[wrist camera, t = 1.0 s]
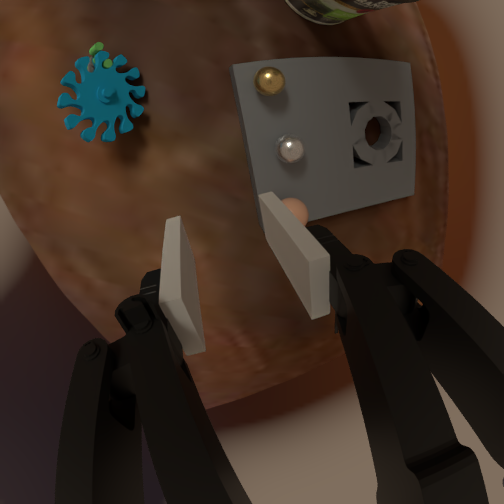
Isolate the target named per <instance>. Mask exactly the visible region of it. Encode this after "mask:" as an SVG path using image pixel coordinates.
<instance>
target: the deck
mask: <svg viewBox="0 0 504 504" xmlns="http://www.w3.org/2000/svg"><path fill="white" fill-rule="evenodd" d="M263 67H275V68H277V69H279V70H280V71H281V72H282V73H283V74H284V76H285V80H286V83H285V87H284V89H283V90H282V91H281V92H280V93H279V94H277V95H274V96H265V95H262V94H260V93H259V92H258V91H257V90H256V89H255V87H254V84H253V78H254V75H255V73H256V72H257V71H258V70H259V69H261V68H263ZM229 71H230V76H231V81H232V86H233V91H234V96H235V101H236V106H237V111H238V116H239V121H240V126H241V131H242V136H243V141H244V146H245V151H246V156H247V162H248V167H249V172H250V177H251V183H252V188H253V193H254V198H255V204H256V209H257V214H258V220H259V225H260V227H261V228H262V230H263V232H264V233H265V230H264V225H263V219H262V213H261V208H260V202H259V197H258V195H259V194H263V193H267V192H273V193H274V194H275V195H276V196H277V197H278V198H279V199H280V200H283V199H285V198H297V199H299V200H301V201H302V202H303V203H304V204H305V205H306V207H307V209H308V213H309V218H308V222H309V221H312V220H316V219H320V218H324V217H328V216H332V215H336V214H339V213H343V212H347V211H351V210H355V209H359V208H363V207H367V206H371V205H375V204H379V203H383V202H387V201H391V200H395V199H399V198H403V197H407V196H411V195H414V188H415V164H416V131H415V108H414V94H413V84H412V75H411V67H410V63H407V62H400V61H392V60H382V59H371V58H354V57H303V58H286V59H274V60H264V61H256V62H248V63H241V64H235V65H232V66H230V67H229ZM384 101H389V105H388V104H386V103H385V102H384ZM349 102H356V103H354V104H353V105H352V106H350V107H349ZM373 117H375V118H377V120H378V122H379V124H380V131H381V134H380V136H379V139H378V141H377V142H376V143H375V144H373V145H372V146H369V145H368V143H367V141H366V139H365V128H366V125H367V123H368V121H369V120H370V119H372V118H373ZM285 134H294V135H297V136H298V137H300V138H301V139H302V141H303V142H304V145H305V153H304V156H303V157H302V158H301V159H300V160H299V161H298V162H295V163H285V162H283V161H281V160H280V159H279V158H278V157H277V155H276V153H275V144H276V141H277V140H278V139H279V138H280V137H281V136H283V135H285ZM353 156H354V157H357V158H359V159H361V160H362V161H358V162H354V160H353Z"/></svg>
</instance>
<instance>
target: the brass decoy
mask: <svg viewBox="0 0 504 504" xmlns="http://www.w3.org/2000/svg"><path fill="white" fill-rule="evenodd" d="M285 83H286V80H285V76H284V74H283V73H282V72H281V71H280V70H279V69H277V68H275V67H263V68H261V69H259V70H258V71H257V72H256V73H255V75H254V78H253V84H254V87H255V89H256V90H257V91H258V92H259V93H260V94H262V95H265V96H274V95H277V94H279V93H280V92H281V91H282V90H283V89H284V87H285Z"/></svg>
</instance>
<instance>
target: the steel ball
mask: <svg viewBox="0 0 504 504" xmlns="http://www.w3.org/2000/svg"><path fill="white" fill-rule="evenodd" d="M275 153H276V155H277V157H278V158H279V159H280V160H281V161H283V162H285V163H295V162H298V161H299V160H300V159H301V158H302V157H303V156H304V153H305V145H304V142H303V141H302V139H301V138H300V137H298V136H297V135H294V134H285V135H283V136H281V137H280V138H279V139H278V140H277V141H276V144H275Z"/></svg>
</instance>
